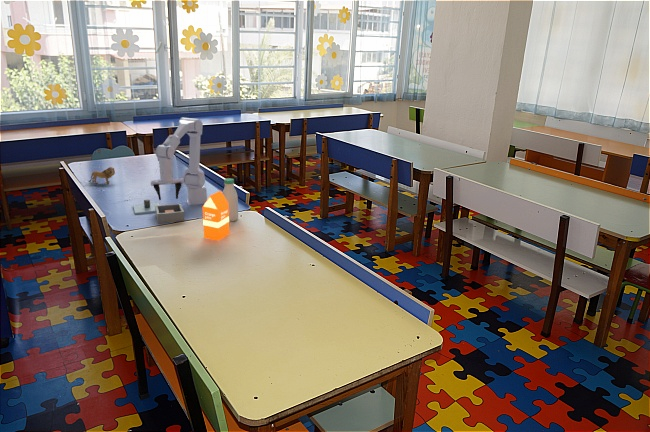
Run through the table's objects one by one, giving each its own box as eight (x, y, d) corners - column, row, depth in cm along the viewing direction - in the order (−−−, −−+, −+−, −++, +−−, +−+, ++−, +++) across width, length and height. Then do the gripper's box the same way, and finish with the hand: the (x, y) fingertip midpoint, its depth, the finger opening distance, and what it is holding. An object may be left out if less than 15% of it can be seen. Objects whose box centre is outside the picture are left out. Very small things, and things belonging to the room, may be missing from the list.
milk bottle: (241, 219, 242) (240, 179, 235) (228, 223, 237) (227, 182, 230) (231, 215, 247) (230, 176, 240) (218, 218, 242) (217, 179, 234)
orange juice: (203, 237, 220) (201, 194, 213) (215, 230, 228) (213, 188, 221) (219, 241, 218) (217, 197, 210) (229, 233, 225) (228, 191, 218)
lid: (159, 205, 257) (158, 195, 255) (162, 213, 246) (161, 203, 244) (133, 207, 252) (132, 197, 250) (135, 216, 241) (134, 205, 239)
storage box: (181, 212, 247) (180, 203, 245) (184, 221, 237) (184, 211, 235) (155, 215, 242) (154, 205, 241) (158, 224, 232) (157, 214, 230)
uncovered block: (173, 215, 242) (173, 209, 241) (174, 218, 238) (174, 212, 237) (165, 216, 240) (164, 210, 239) (166, 219, 237) (165, 213, 236)
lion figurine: (116, 180, 291) (115, 165, 287) (115, 183, 286) (113, 168, 283) (89, 181, 287) (87, 166, 284) (87, 184, 282) (85, 169, 279)
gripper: (150, 174, 225) (153, 203, 230) (183, 172, 230) (185, 200, 235) (149, 170, 231) (151, 198, 236) (181, 168, 236) (183, 195, 241)
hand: (168, 198), depth 236 cm, fingers open, 7 cm apart
